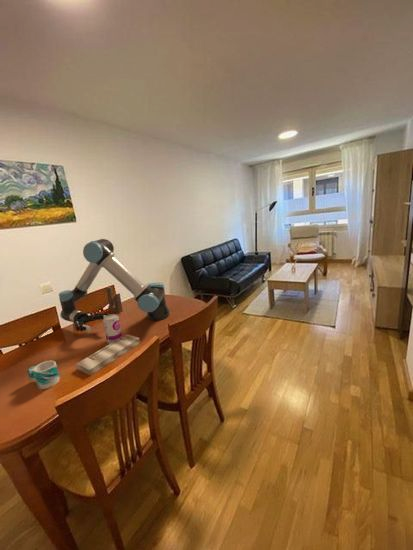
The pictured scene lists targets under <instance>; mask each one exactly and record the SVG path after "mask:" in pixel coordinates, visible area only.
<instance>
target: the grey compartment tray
mask: <svg viewBox="0 0 413 550" xmlns="http://www.w3.org/2000/svg"><path fill="white" fill-rule="evenodd" d="M139 344H141V339H140V337H137V336H134V335H131V334H124V335H122V337H121V338H119V339H118V340H116V341H114V342H113V343H111V344H108V345H106V346H104V347H102V348H101V349H99V350H97V351H96V352H94V353H91V354H90V355H89V356H87V357H86V358H84V359H82V360H80V361H79V362H76V364H75V365H76V369H77V370H78V371H80V372H82V373H84V374H86V375H88V376H93V375H94V374H95V373H97V372H99V371H100V370H102V369H103V368H105V367H106V366H108V365H109V364H111V363H112V362H113V361H115V360H117V359H118V358H120V357H121V356H122V355H124V354H126V353H128V352H129V351H131V350H132V349H134V348H135V347H137V346H138V345H139Z"/></svg>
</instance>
